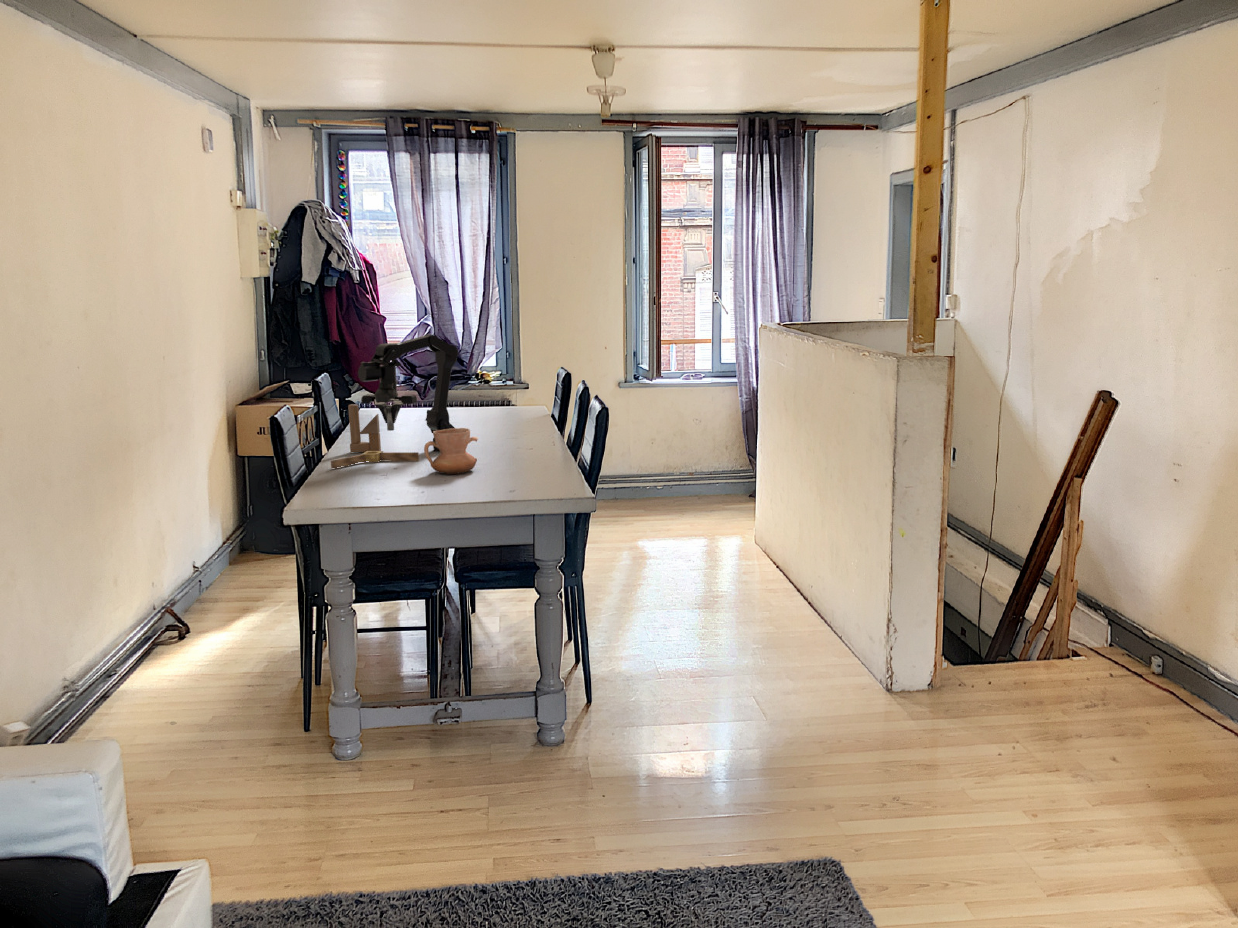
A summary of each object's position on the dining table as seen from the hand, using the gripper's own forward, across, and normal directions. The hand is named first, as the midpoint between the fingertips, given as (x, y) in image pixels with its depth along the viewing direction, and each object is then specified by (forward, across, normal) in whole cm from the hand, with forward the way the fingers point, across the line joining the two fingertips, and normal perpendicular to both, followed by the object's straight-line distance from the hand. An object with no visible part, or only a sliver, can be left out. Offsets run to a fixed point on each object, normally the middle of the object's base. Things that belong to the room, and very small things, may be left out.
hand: (390, 423), depth 365 cm
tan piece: (+13, -2, -10) cm, 17 cm away
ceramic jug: (+13, +29, -23) cm, 39 cm away
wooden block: (+13, -15, +13) cm, 24 cm away
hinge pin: (+2, 0, 0) cm, 2 cm away
